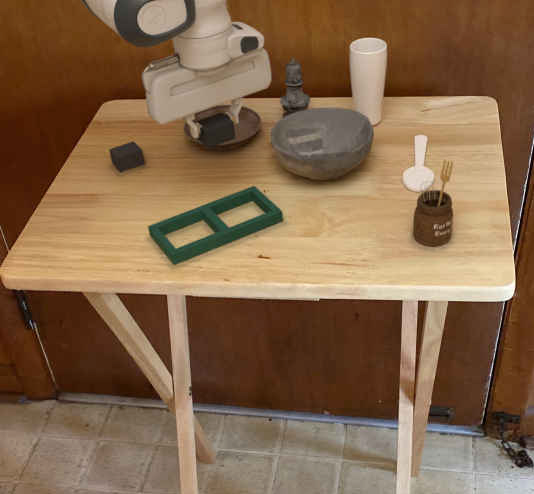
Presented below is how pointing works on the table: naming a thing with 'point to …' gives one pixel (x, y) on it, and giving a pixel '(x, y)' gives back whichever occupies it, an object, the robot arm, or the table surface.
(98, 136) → the table surface
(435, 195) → the utensil holder
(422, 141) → the spoon
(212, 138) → the pad
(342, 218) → the table surface
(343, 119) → the bowl
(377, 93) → the drinking glass
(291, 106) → the dark grey tiered figurine
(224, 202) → the green divided frame
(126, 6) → the robot arm
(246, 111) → the saucer
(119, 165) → the pad
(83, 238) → the table surface
